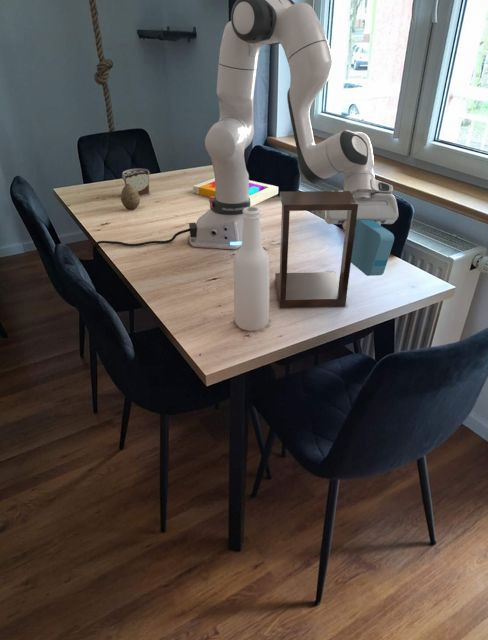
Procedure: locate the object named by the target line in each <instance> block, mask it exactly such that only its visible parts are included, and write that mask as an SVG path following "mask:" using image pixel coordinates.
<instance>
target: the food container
mask: <svg viewBox="0 0 488 640" xmlns="http://www.w3.org/2000/svg"><path fill="white" fill-rule="evenodd" d="M150 176H151V172H150V170H149V169H148V168H130V169H126V170H123V171H122V174H121V179H122V180H123V181H124V186H125V185H126V184H131V185H132V186H133V187H134V188H135V189H136V190H137V192H138V194H139V197H140V198H141V197H144V196H148V195H150Z"/></svg>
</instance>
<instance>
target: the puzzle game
mask: <svg viewBox="0 0 488 640" xmlns="http://www.w3.org/2000/svg"><path fill="white" fill-rule="evenodd" d="M192 187H193V193H194V194H196V195H201V196H205V197H208V198H209V197H210V196H214V197H216V190H215V177H214V178H210V179H208V180H206V181H205V180H204V181H203V182H200V183H197V184H195V185H192ZM278 194H279V186H277V185H273V184H268V183H264V182H258V181H255V180H250V179H249V198H250V202H251V207H254V206H256V205H257V204H260V203H262V202H264V201H266V200H268V199H271V198H272V197H275V196H277V195H278Z"/></svg>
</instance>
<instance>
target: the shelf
mask: <svg viewBox="0 0 488 640" xmlns="http://www.w3.org/2000/svg"><path fill="white" fill-rule="evenodd" d="M279 199H280V204H281V222H280V223H281V224H280V226H281V227H280V247H279V249H280V250H279V251H280V253H279V272H276V273H275V274H274V282H275V286H276V293H277V294H276V295H277V300H278V305H279V309H296V308H297V309H300V308H343V307H344V308H345V307H346V305H347V304H346V303H347V297H348V296H347V295H348V289H349V288H348V287H349V281H350V274H351V273H350V272H351V266H352V263H351V258H352V250H353V242H354V234H355V227H356V219H357V211H358V203H357V201H356V200H355V198H354V197H353V195H352V194H351V192H350V191H344V190H314V191H313V190H312V191H311V190H309V191H307V190H306V191H279ZM325 210H347V219H346V228H345V230H344V235H343V236H344V238H343V246H342V255H341V264H340V270H339V271H340V272H339V278H338V275H337V272H336V271H325V272H323V271H322V272H321V271H319V272H315V271H314V272H288V261H289V260H288V257H289V237H290V235H289V234H290V215H291V214H290V213H291V212H310V211H311V212H314V211H315V212H316V211H320V212H321V211H322V212H323V211H324V212H325Z"/></svg>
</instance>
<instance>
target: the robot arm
mask: <svg viewBox="0 0 488 640" xmlns="http://www.w3.org/2000/svg"><path fill="white" fill-rule="evenodd" d="M231 8H232V9H231V13H230V21H228V22H227V23H226V25H225V26H224V28H223V29H224V30H223V32H222V33H223V34H222V37H221V41H220V47H219V56H218V65H217V78H216V92H215V93H216V97H217V99H218V108H219V118H218V121H217V122H215V123H214V124H212V126H210V128H209V129H208V131H207V134H206V136H205V138H204V146H205V150H206V153H207V154H208V156H209V158H210V161H211V165H212V169H213V174H214V178H215V190H216V197H214V196H210V197H208V202H209V210H207V211H206V212H205V213H204V214H202V215H201V216H200V217H198V219H197V221H196V222H189V223H188V228H186V229H183V230H179V231H177V232H176V233H174V235H173V236H172V237H171V238H170V239H167V240H148V241H144V242H138V243H137V242H136V243H127V242H122V241H119V240H118V241H117V240H98V241H96V242H94V243H93V244H92V245H91V249H92V248H95V247H96V246H98V245H100V244H109V245H119V246H124V247H141V246H146V245H152V244H169V243H172V242H173V241H174V240H175V239H176V238H177V237H178V236H180V235H181V234H185V233H188V232H189V239H188V242H189V244H190V245H191V247H194V248H206V249H219V250H220V249H221V250H223V249H224V250H238V249H239V248H240V247H241V244H242V230H243V209H244V208H246V207H252V206H251V202H250V198H249V180H250V175H249V172H248V170H247V167H246V166H247V165H246V161H245V151H246V149H247V148H248V147H249V146H250V145H251V143H252V141H253V138H254V135H255V126H254V119H255V118H254V117H255V116H254V98H255V96H254V95H255V87H256V79H257V71H258V70H257V69H258V60H259V53H260V52H261V49H262V47H263V46H265V45H268V46H274V45H280V46H281V47H282V49H283V52H284V55H285V57H286V60H287V63H288V68H289V75H290V83H289V88H288V90H287V95H286V99H287V100H286V101H287V106H288V107H287V108H288V112H289V117H290V123H291V127H292V133H293V138H294V144H295V147H296V157H297V159H296V160H297V169H298V172H299V175H300V177H301V178H302V179H303V180H304V181H306V182H307V183H309V184H311V185H320V184H322V183H323V182H325V181H327V180H329V179H330V178H332V177H334V176H336V175H339V174H342V173H343V176H344V177H343V182H342V183H343V191H350V192H351V194H352V195H353V197H354V198H355V200H356V201H357V203H358V211H357V219H356V224H357V222H358V221H360V220H362V221H374V222H376V223H377V224H379V225H380V226H382V225H393V224H394V223H395V222H396V221H398V218H399V208H398V201H397V199H396V196H395V195H394V194H393V192H394V187H393V185H392V184H389V183H386V182H384V181H380V180H378V179H376V176H375V173H374V167H375V161H374V160H375V159H374V151H373V146H372V143H371V139H370V137H369V136H368V135H367V134H366V133H364V132H362V131H352V130H348V129H344V130H342V131H339V132H337V133H334V134H333V135H331V136H329V137H328V138H326V139H324V140H322V141H320V142H318V143H316V142H315V139H314V133H313V128H312V123H311V115H310V112H311V108H312V105H313V103H314V101H315V99H316V98H317V96H318V95H319V93H320V92H321V91H322V90H323V89H324V87H325V86H326V85H327V83H328V81H329V80H330V77H331V75H332V72H333V67H334V59H333V54H332V51H331V47H330V45H329V41H328V39H327V36H326V33H325V30H324V28H323V25H322V23H321V21H320V19H319V16H318V15H317V13H316V11H315V9H314V8H313V6H312V5H311V4H309V3H307V2H295V1H294V0H235V2H234V4H233V5H232V7H231ZM346 219H347V210H324V221H325V222H326V224H327V225H342V228H343V231H345V228H346Z"/></svg>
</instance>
